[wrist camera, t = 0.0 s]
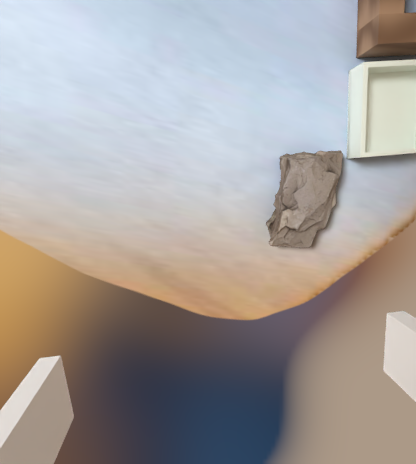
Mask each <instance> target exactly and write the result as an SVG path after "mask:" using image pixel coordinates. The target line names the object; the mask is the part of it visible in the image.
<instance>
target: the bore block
mask: <svg viewBox="0 0 416 464" xmlns="http://www.w3.org/2000/svg"><path fill="white" fill-rule="evenodd" d="M404 8H405V0H358V23H357V58H364V57H383V56H402V55H416V13H404Z"/></svg>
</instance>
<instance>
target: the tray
mask: <svg viewBox="0 0 416 464" xmlns="http://www.w3.org/2000/svg"><path fill="white" fill-rule="evenodd" d="M409 153H416V59H413V60H394V61H376V62H363V63H361V64H360V65H358V66H356V67H355V68H353V69H351V70H350V71H349V83H348V125H347V159H348V158H360V157H373V156H385V155H397V154H409Z"/></svg>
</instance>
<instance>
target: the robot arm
mask: <svg viewBox="0 0 416 464" xmlns="http://www.w3.org/2000/svg"><path fill="white" fill-rule="evenodd" d="M383 371H384V372H385V373H386V374H387V375H389V376H390V378H392V379H393V380H394V381H395V382H396V383H397V384H398V385H399V386H400V387H401V388H402V389H403V390H404V391H405V392H406V393H407V394H408V395H409V396H410V397H411V398H412V399H413V400H414V401H415V402H416V318H415V317H413V316H412V315H410V314H408V313H407V312H405V311H399V312H392V313H387V319H386V335H385V352H384V369H383ZM73 417H74V415H73V410H72V405H71V401H70V397H69V392H68V387H67V382H66V378H65V374H64V369H63V364H62V359H61V356H54V357H47V358H40V359H39V360H38V361H37V363H36V364H35V365H34V367H33V368H32V369H31V371H30V372H29V373H28V375H27V376H26V377H25V378H24V380H23V381H22V382H21V384H20V386H18V388H17V389H16V390H15V392H14V393H13V395H12V396H11V397H10V398H9V400H8V401H7V402H6V404H5V405H4V406H3V408H2V409H1V410H0V464H54V461H55V459H56V457H57V454H58V452H59V450H60V447H61V445H62V443H63V440H64V438H65V436H66V434H67V431H68V429H69V427H70V424H71V422H72V420H73Z"/></svg>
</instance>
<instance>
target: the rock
mask: <svg viewBox="0 0 416 464" xmlns="http://www.w3.org/2000/svg"><path fill="white" fill-rule="evenodd" d="M342 157H343V153H342V152H341V151H328V152H323V151H318V152H317V153H315V154H313V153H306V152H302V153H296V154H293V155H289V154H285V155H283V156H281V157H280V170H281V181H280V188H279V191H278V193H277V194H276V195H275V203H274V204H273V205H274V206H275V207H276V209H275V211H274V212H273V214H272V217H271V218H270V219H269V220H268V221H267V222H266V225H267V227H268V230H269V233H270V236H271V239H270V241H269V244H270V245H271V246H291V247H299V248H305V247H311V245H312V242H313V239H314V237H315V235H316V233H317V231H318V230H319V229H324V228H325V226H326V224H327V222H328V218H329V216H330V213H331V209H332V207H333V206H334V205H336V186H337V184H338V181H339V178H340V174H341V168H342Z"/></svg>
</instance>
